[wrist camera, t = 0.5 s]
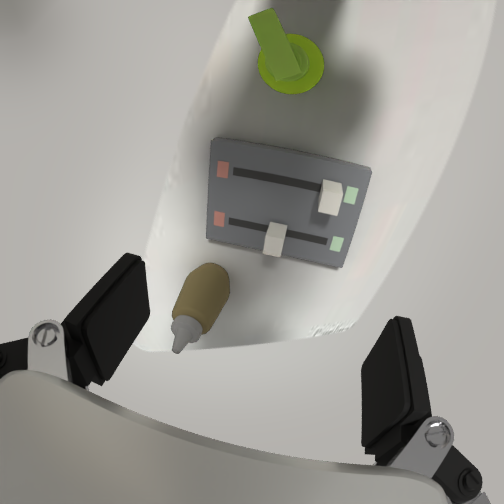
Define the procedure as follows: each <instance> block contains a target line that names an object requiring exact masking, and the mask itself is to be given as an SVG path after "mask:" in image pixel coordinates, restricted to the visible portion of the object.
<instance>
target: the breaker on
mask: <svg viewBox="0 0 504 504" xmlns="http://www.w3.org/2000/svg"><path fill="white" fill-rule="evenodd" d="M342 197H343V191H342V184H341V183H338V182H334V181H329V180H325V179H323V182H322V187H321V191H320V195H319V201H318V212H322V213H326V214H330V215H335V216H337V215H338V212H339V208H340V204H341V201H342Z"/></svg>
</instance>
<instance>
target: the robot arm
mask: <svg viewBox="0 0 504 504" xmlns="http://www.w3.org/2000/svg"><path fill="white" fill-rule="evenodd" d="M149 315H150V307H149V299H148V290H147V281H146V270H145V262H144V261H142V259H141V257H140V256H137V255H134V254H130V253H125V254H124V255H123V256H122V257H121V258H120V259H119V260H118V261H117V262H116V263H115V264H114V265H113V266H112V267H111V268H110V270H109V271H108V272H107V273H106V274H105V275H104V276H103V277H102V278H101V279H100V280H99V281H98V282H97V283H96V284H95V285H94V286H93V288H92V289H91V290H90V291H89V292H88V293H87V294H86V295H85V296H84V297H83V299H82V300H81V301H80V302H79V303H78V304H77V305H76V306H75V307H74V309H73V310H72V311H71V312H70V313H69V314H68V315H67V317H66V318H65V319H64V321H63V322H62V323H61V324H60V323H58V322H57V321H54V320H44V321H40V322H39V323H37V324H36V325H35V326H34V327H33V328H32V329H31V331H30V333H29V337H28V338H25V339H20V340H16V341H12V342H7V343H3V344H0V504H491V503H490V501H489V499H488V498H487V496H486V494H485V492H483V493H481V491H480V490H481V488H482V476H481V474H480V472H479V471H478V469H477V468H476V467H475V466H474V465H472V463H471V462H469V460H467V459H466V458H465V457H464V456H463V455H462V454H461V453H460V452H459V451H458V450H457V449H456V448H455V447H454V446H453V445H452V444H453V441H454V432H453V429H452V427H451V425H450V424H449V423H448V422H447V420H445V419H443V418H441V417H438V416H433V417H432V414H431V406H430V400H429V394H428V388H427V383H426V377H425V372H424V367H423V363H422V359H421V357H420V356H419V352H418V347H417V343H416V338H415V334H414V330H413V326H412V322H411V320H410V319H409V318H404V317H400V316H395V317H394V318H393V319H390V320H389V321H388V322H387V324H386V326H385V328H384V330H383V331H382V333H381V335H380V337H379V338H378V340H377V342H376V343H375V345H374V347H373V348H372V350H371V351H370V353H369V355H368V356H367V358H366V360H365V361H364V363H363V365H362V369H361V382H362V440H361V443H362V446H363V447H365V454H371V455H375V461H376V462H375V463H374V464H373V465H357V464H346V463H337V462H328V461H319V460H312V459H303V458H297V457H291V456H285V455H280V454H275V453H269V452H265V451H259V450H255V449H251V448H246V447H242V446H237V445H234V444H230V443H226V442H222V441H219V440H215V439H211V438H208V437H204V436H201V435H198V434H195V433H192V432H188V431H185V430H182V429H179V428H177V427H174V426H171V425H168V424H165V423H162V422H159V421H157V420H154V419H152V418H149V417H146V416H144V415H141V414H139V413H137V412H134V411H132V410H129V409H127V408H125V407H122V406H120V405H118V404H115V403H113V402H111V401H109V400H106V399H104V398H102V397H100V396H98V395H96V394H94V393H92V392H89V389H88V385H89V384H90V383H91V381H92V382H94V383H96V384H98V385H100V386H102V385H103V383H104V382H105V380H106V381H108V380H110V378H111V377H112V375H113V374H114V372H115V370H116V369H117V367H118V366H119V364H120V362H121V361H122V359H123V358H124V356H125V354H126V353H127V351H128V350H129V348H130V347H131V345H132V343H133V342H134V340H135V339H136V337H137V336H138V334H139V333H140V331H141V330H142V328H143V326H144V325H145V323H146V322H147V320H148V318H149Z"/></svg>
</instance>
